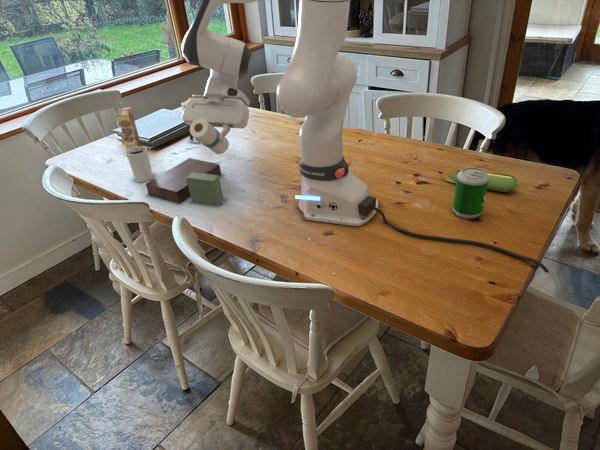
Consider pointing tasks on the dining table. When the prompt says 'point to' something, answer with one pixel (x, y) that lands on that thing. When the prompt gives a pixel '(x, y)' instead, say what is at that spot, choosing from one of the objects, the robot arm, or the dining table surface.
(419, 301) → the dining table surface
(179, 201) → the chopping block
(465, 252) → the dining table surface
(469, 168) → the soda can
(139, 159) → the white cup
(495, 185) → the edible corn
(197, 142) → the beer glass
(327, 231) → the dining table surface
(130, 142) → the candy box
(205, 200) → the green block
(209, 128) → the paper roll
